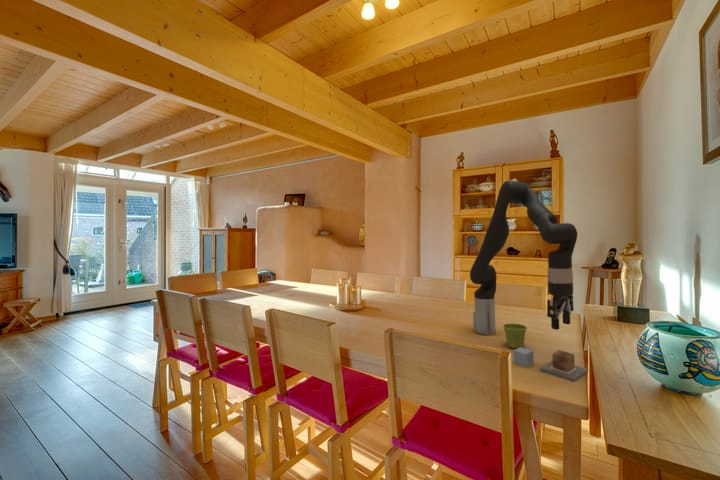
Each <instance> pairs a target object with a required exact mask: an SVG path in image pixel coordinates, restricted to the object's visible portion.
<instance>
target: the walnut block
mask: <svg viewBox="0 0 720 480" xmlns="http://www.w3.org/2000/svg"><path fill="white" fill-rule="evenodd" d="M551 355H552V356H551V357H552V360H551V361H552V362H553V368H555V369H558V370H562V371H565V372H570V371H571V370H573V369H574V368H575V366H576V365H575V354H574V353H570V352H568V351H563V350H561V349H560V350H559V349H558V350H557V351H555V352H553V353H551Z"/></svg>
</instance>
